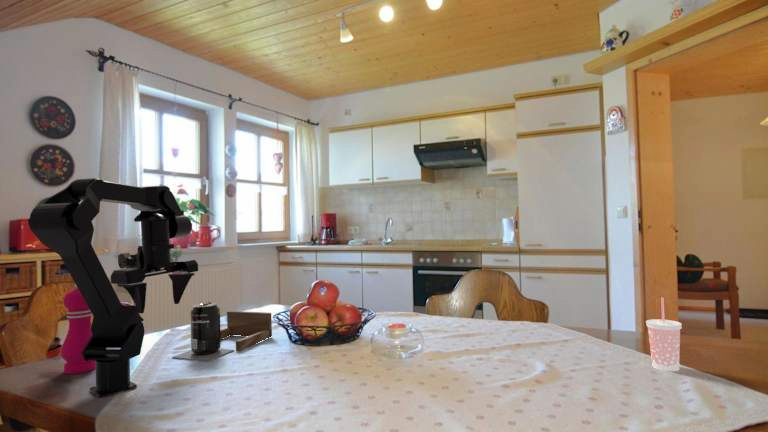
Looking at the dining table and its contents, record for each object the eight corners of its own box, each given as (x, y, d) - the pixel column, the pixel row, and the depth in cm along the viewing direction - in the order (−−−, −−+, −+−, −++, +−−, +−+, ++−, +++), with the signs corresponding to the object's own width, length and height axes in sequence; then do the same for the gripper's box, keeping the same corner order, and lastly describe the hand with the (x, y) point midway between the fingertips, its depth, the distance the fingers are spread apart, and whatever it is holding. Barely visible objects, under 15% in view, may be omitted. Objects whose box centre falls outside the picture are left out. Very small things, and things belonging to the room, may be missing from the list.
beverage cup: (652, 360, 92) (649, 294, 92) (687, 366, 88) (683, 296, 88) (644, 368, 88) (640, 298, 88) (680, 374, 83) (676, 301, 84)
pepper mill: (80, 375, 95) (78, 283, 96) (52, 374, 97) (51, 283, 97) (107, 365, 102) (105, 279, 103) (81, 364, 104) (79, 279, 104)
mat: (208, 361, 102) (208, 360, 102) (172, 358, 106) (172, 357, 106) (234, 350, 111) (234, 349, 111) (199, 348, 115) (199, 346, 115)
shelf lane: (239, 351, 110) (239, 323, 110) (195, 347, 115) (194, 320, 115) (271, 337, 123) (271, 312, 123) (230, 334, 128) (229, 310, 128)
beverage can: (210, 347, 114) (209, 300, 114) (226, 350, 110) (225, 303, 110) (185, 353, 108) (184, 305, 109) (201, 358, 104) (200, 307, 105)
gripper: (166, 237, 112) (169, 298, 112) (92, 244, 95) (96, 316, 95) (198, 237, 108) (201, 300, 108) (126, 244, 90) (130, 319, 91)
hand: (159, 308), depth 101 cm, fingers open, 9 cm apart
